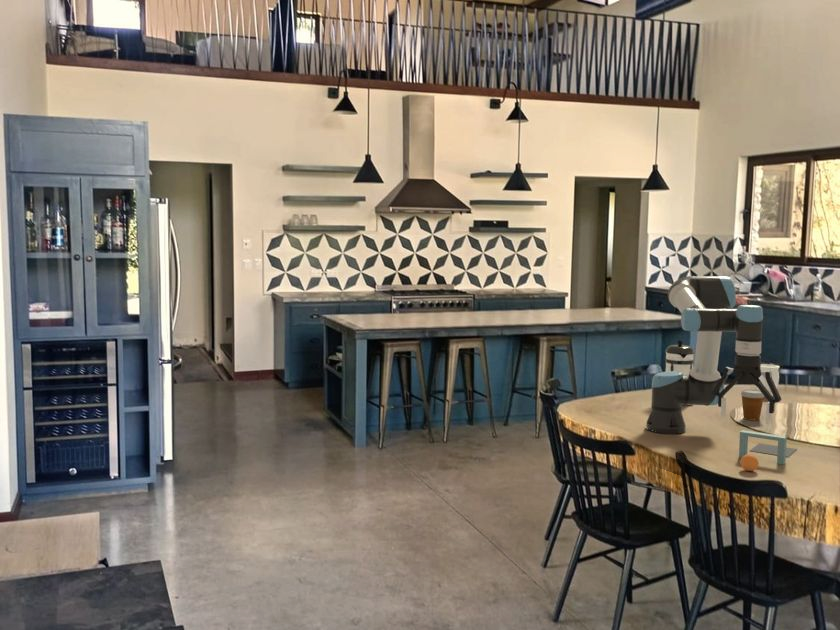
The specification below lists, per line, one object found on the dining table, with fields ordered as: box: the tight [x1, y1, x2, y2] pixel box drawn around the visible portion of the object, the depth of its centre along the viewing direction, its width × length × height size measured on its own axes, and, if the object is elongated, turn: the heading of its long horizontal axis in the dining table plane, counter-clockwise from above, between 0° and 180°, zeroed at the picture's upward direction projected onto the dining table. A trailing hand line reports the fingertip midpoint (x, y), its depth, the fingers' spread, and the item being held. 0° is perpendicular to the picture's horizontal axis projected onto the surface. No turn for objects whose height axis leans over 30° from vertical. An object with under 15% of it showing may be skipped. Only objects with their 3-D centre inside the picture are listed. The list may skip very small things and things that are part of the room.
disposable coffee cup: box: [740, 388, 765, 421], centre depth 327 cm, size 10×10×12 cm
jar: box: [756, 363, 781, 398], centre depth 378 cm, size 11×10×15 cm
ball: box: [740, 453, 760, 472], centre depth 253 cm, size 6×6×6 cm
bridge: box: [738, 430, 788, 466], centre depth 265 cm, size 14×3×9 cm, turn 52°
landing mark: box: [749, 442, 798, 458], centre depth 278 cm, size 13×13×1 cm
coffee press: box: [664, 339, 695, 376], centre depth 359 cm, size 17×16×30 cm
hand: (745, 420), depth 244 cm, fingers open, 13 cm apart
